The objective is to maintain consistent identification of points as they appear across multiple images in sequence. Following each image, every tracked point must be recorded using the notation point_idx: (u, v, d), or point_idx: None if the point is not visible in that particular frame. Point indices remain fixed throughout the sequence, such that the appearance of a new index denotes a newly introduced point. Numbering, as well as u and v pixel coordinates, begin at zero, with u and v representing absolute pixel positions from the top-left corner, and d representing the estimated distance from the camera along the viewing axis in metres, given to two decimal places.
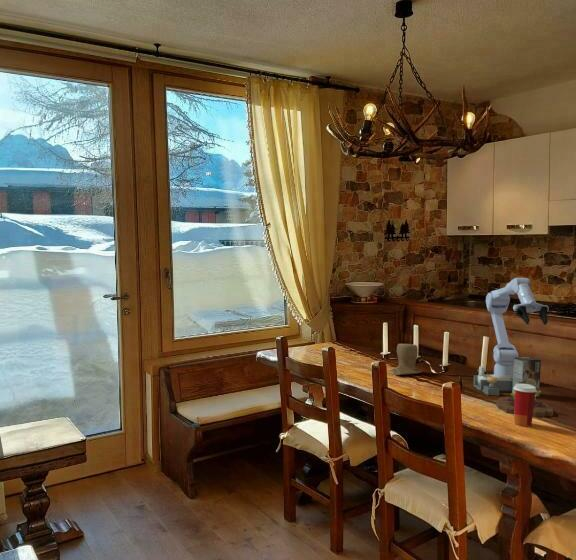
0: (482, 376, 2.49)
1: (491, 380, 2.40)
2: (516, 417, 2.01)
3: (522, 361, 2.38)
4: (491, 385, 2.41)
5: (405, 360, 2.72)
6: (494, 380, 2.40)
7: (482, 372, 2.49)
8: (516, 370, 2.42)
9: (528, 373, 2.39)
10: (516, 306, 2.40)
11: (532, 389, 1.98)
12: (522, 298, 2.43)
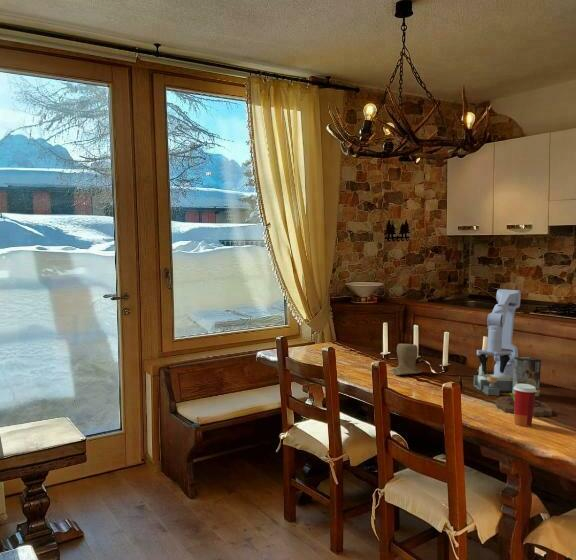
0: (482, 376, 2.49)
1: (491, 380, 2.40)
2: (516, 417, 2.01)
3: (522, 361, 2.38)
4: (491, 385, 2.41)
5: (405, 360, 2.72)
6: (494, 380, 2.40)
7: (482, 372, 2.49)
8: (516, 370, 2.42)
9: (528, 373, 2.39)
10: (479, 353, 2.40)
11: (532, 389, 1.98)
12: (489, 342, 2.40)
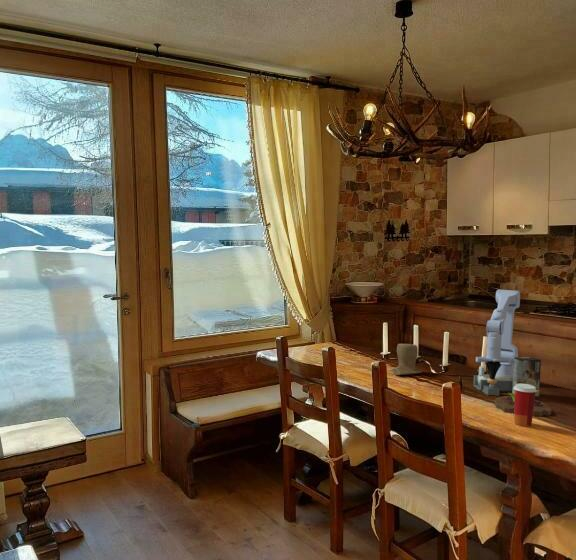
0: (482, 376, 2.49)
1: (491, 381, 2.40)
2: (516, 417, 2.01)
3: (522, 361, 2.38)
4: (491, 386, 2.42)
5: (405, 360, 2.72)
6: (494, 381, 2.40)
7: (482, 372, 2.49)
8: (516, 370, 2.42)
9: (528, 373, 2.39)
10: (478, 360, 2.40)
11: (532, 389, 1.98)
12: (488, 349, 2.40)
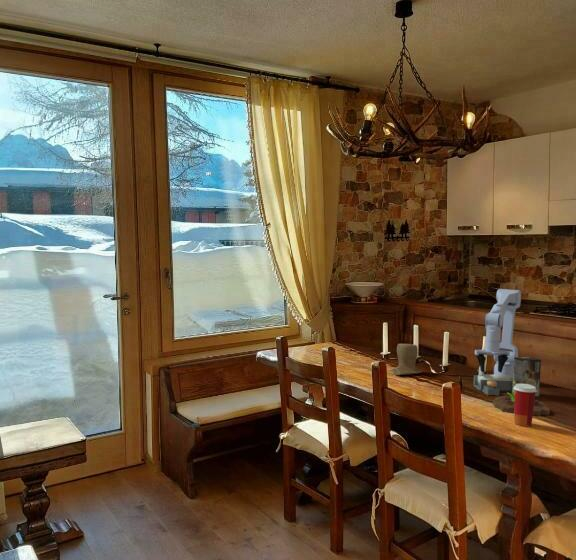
0: (482, 376, 2.49)
1: (491, 384, 2.40)
2: (516, 417, 2.01)
3: (522, 361, 2.38)
4: None
5: (405, 360, 2.72)
6: (494, 384, 2.40)
7: (482, 372, 2.49)
8: (516, 370, 2.42)
9: (528, 373, 2.39)
10: (477, 353, 2.41)
11: (532, 389, 1.98)
12: (487, 342, 2.41)
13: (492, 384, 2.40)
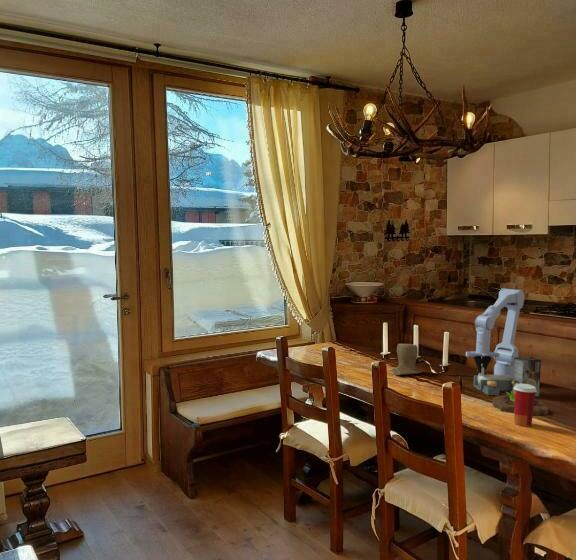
0: (482, 376, 2.49)
1: (491, 384, 2.40)
2: (516, 417, 2.01)
3: (522, 361, 2.38)
4: None
5: (405, 360, 2.72)
6: (494, 384, 2.40)
7: (482, 372, 2.49)
8: (516, 370, 2.42)
9: (528, 373, 2.39)
10: (468, 355, 2.49)
11: (532, 389, 1.98)
12: (478, 344, 2.48)
13: (492, 384, 2.40)
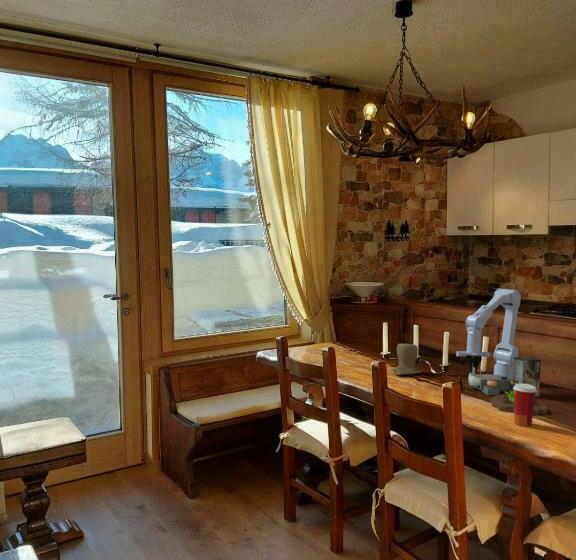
0: (473, 376, 2.49)
1: (491, 384, 2.40)
2: (516, 417, 2.01)
3: (522, 361, 2.38)
4: None
5: (405, 360, 2.72)
6: (494, 384, 2.40)
7: (473, 372, 2.49)
8: (516, 370, 2.42)
9: (528, 373, 2.39)
10: (459, 354, 2.48)
11: (532, 389, 1.98)
12: (468, 344, 2.48)
13: (492, 384, 2.40)
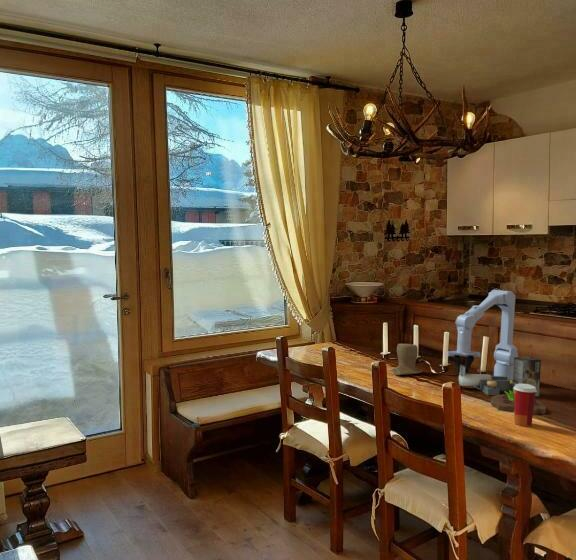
0: (463, 376, 2.48)
1: (491, 384, 2.40)
2: (516, 417, 2.01)
3: (522, 361, 2.38)
4: None
5: (405, 360, 2.72)
6: (494, 384, 2.40)
7: (463, 372, 2.49)
8: (516, 370, 2.42)
9: (528, 373, 2.39)
10: (449, 354, 2.48)
11: (532, 389, 1.98)
12: (459, 344, 2.48)
13: (492, 384, 2.40)
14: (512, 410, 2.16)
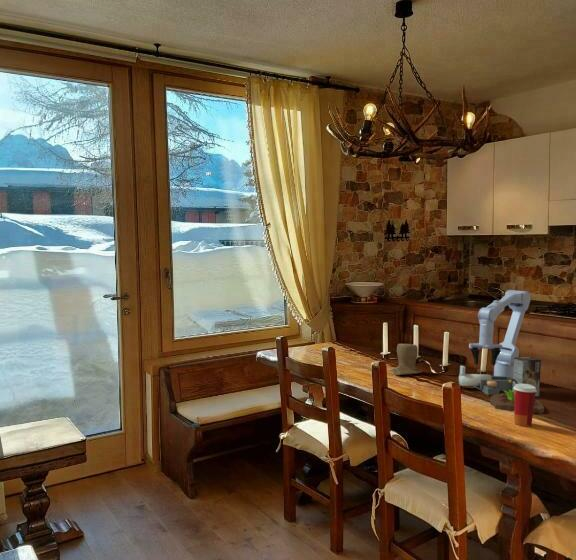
0: (463, 376, 2.48)
1: (491, 384, 2.40)
2: (516, 417, 2.01)
3: (522, 361, 2.38)
4: None
5: (405, 360, 2.72)
6: (494, 384, 2.40)
7: (463, 372, 2.49)
8: (516, 370, 2.42)
9: (528, 373, 2.39)
10: (471, 346, 2.51)
11: (532, 389, 1.98)
12: (481, 336, 2.51)
13: (492, 384, 2.40)
14: (508, 409, 2.18)
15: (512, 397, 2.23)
